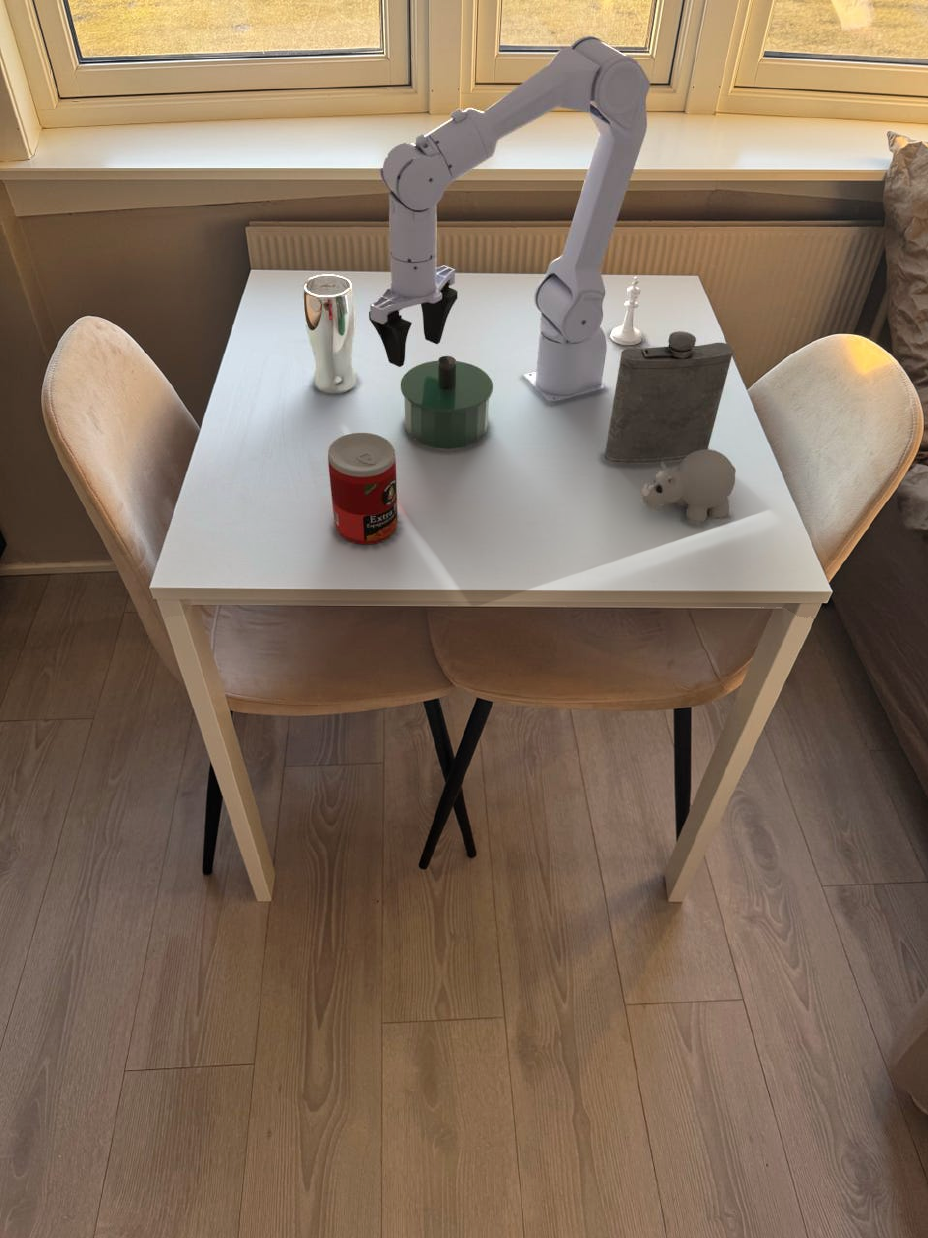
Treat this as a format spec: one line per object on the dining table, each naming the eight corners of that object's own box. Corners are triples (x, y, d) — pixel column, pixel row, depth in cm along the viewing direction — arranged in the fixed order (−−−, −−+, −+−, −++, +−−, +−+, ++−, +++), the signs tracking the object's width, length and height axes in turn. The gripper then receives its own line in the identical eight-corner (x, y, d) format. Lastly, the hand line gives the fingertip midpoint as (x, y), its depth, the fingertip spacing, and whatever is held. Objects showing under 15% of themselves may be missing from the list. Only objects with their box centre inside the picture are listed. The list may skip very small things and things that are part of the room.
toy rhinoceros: (624, 501, 119) (635, 446, 112) (710, 488, 121) (725, 434, 115) (646, 537, 114) (658, 482, 108) (735, 523, 116) (752, 468, 110)
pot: (464, 397, 134) (465, 357, 130) (501, 439, 127) (504, 399, 123) (392, 415, 131) (390, 375, 126) (426, 460, 124) (425, 419, 119)
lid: (467, 359, 131) (468, 328, 127) (508, 404, 123) (511, 372, 120) (386, 378, 127) (385, 347, 123) (423, 425, 119) (423, 393, 116)
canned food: (374, 554, 110) (370, 480, 102) (321, 530, 113) (312, 456, 105) (410, 520, 115) (409, 446, 107) (358, 497, 118) (353, 424, 110)
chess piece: (646, 335, 148) (657, 275, 141) (633, 348, 146) (643, 287, 138) (618, 326, 150) (628, 267, 143) (605, 339, 147) (614, 279, 140)
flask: (711, 461, 125) (743, 339, 112) (609, 469, 123) (630, 347, 110) (702, 445, 128) (732, 325, 115) (601, 453, 126) (621, 331, 113)
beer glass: (351, 398, 134) (344, 300, 123) (305, 392, 134) (294, 294, 124) (364, 373, 138) (359, 277, 128) (319, 367, 139) (310, 271, 128)
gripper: (399, 282, 108) (402, 384, 118) (474, 242, 117) (471, 340, 126) (355, 265, 111) (361, 365, 121) (431, 226, 120) (431, 324, 129)
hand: (414, 352), depth 124 cm, fingers open, 7 cm apart
